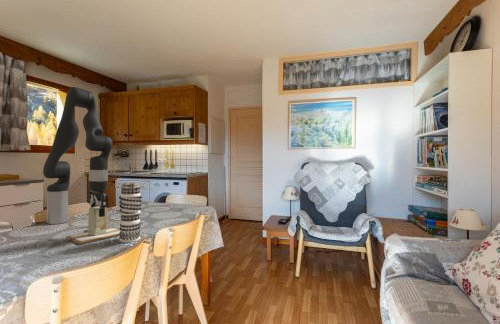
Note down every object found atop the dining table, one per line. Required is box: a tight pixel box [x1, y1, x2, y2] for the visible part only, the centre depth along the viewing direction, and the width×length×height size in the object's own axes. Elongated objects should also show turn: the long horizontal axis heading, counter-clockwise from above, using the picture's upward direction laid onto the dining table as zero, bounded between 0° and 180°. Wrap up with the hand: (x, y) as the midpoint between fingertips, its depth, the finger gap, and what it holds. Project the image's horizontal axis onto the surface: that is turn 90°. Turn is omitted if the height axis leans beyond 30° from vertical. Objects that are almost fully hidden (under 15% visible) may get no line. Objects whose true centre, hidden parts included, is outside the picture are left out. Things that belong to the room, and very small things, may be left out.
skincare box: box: [87, 205, 108, 236], centre depth 116 cm, size 6×4×12 cm
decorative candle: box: [118, 182, 143, 243], centre depth 112 cm, size 9×9×25 cm
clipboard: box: [65, 226, 121, 246], centre depth 116 cm, size 14×20×2 cm
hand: (97, 215), depth 116 cm, fingers open, 8 cm apart
